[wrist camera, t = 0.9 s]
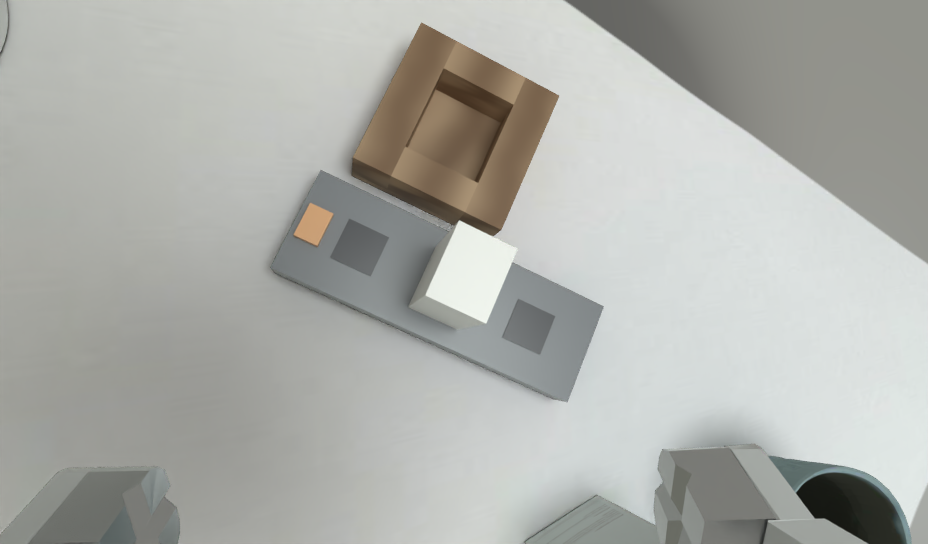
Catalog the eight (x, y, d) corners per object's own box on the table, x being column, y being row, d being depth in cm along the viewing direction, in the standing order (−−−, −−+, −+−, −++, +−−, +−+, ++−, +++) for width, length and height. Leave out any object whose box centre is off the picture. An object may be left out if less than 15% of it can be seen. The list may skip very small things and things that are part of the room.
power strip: (274, 273, 44) (269, 265, 41) (322, 181, 46) (320, 166, 42) (553, 399, 47) (571, 403, 44) (588, 309, 49) (607, 305, 45)
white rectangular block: (404, 309, 45) (425, 295, 34) (431, 251, 46) (459, 220, 35) (451, 330, 45) (486, 323, 35) (477, 272, 46) (517, 248, 36)
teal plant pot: (799, 525, 50) (937, 577, 39) (708, 590, 48) (827, 666, 36) (745, 418, 51) (866, 438, 39) (652, 478, 48) (752, 517, 36)
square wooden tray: (351, 175, 46) (352, 157, 42) (414, 52, 49) (421, 22, 44) (486, 241, 48) (501, 229, 44) (540, 118, 50) (559, 95, 46)
